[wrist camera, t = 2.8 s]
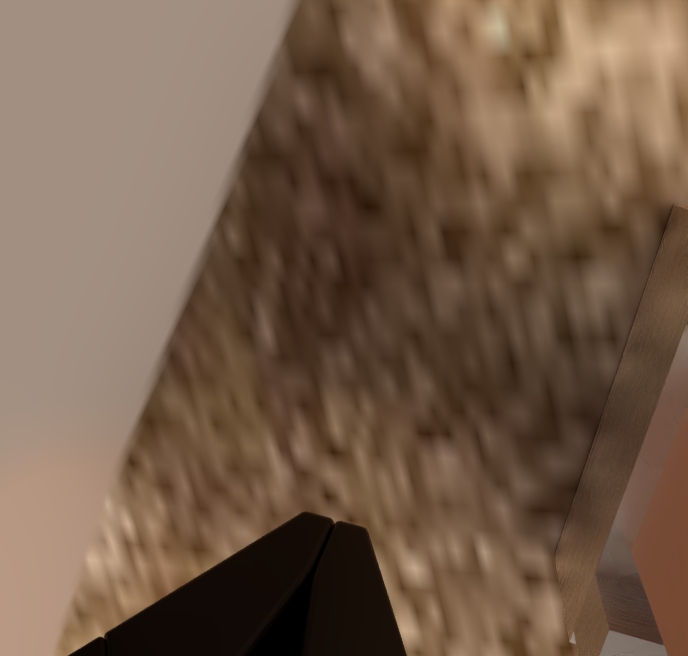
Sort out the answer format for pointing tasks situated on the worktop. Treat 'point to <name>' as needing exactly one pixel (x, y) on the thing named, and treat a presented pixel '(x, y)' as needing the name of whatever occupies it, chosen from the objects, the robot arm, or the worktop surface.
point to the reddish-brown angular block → (668, 547)
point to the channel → (629, 467)
